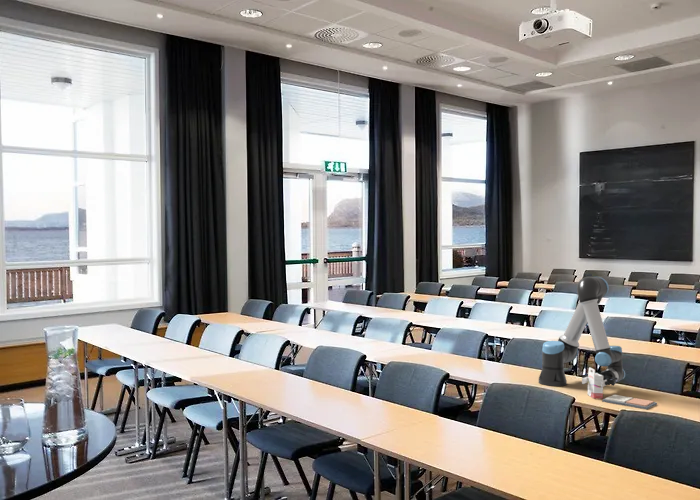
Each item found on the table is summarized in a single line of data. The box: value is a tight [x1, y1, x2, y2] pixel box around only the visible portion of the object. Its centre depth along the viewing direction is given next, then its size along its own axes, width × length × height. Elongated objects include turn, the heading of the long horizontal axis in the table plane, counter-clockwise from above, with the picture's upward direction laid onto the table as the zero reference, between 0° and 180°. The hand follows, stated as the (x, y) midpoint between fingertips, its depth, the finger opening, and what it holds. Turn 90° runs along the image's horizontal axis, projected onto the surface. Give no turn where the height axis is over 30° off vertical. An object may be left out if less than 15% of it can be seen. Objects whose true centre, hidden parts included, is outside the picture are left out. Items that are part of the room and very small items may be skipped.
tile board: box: [601, 394, 658, 410], centre depth 308 cm, size 21×15×2 cm
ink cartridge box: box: [587, 366, 604, 400], centre depth 319 cm, size 9×5×15 cm, turn 1°
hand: (592, 382), depth 316 cm, fingers closed on ink cartridge box, 9 cm apart
